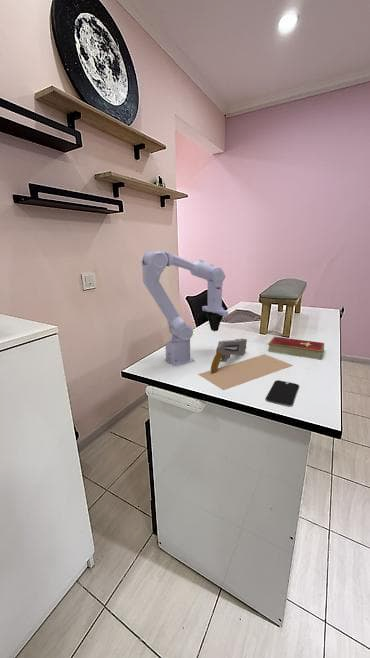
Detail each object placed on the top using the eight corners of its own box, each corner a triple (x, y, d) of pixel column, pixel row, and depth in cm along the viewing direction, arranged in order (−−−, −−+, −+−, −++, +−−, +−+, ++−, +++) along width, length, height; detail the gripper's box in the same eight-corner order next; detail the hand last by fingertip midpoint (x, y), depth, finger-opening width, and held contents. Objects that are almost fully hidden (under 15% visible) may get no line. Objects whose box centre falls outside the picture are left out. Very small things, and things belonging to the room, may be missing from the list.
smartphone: (300, 384, 89) (292, 406, 77) (299, 386, 90) (291, 408, 77) (275, 379, 93) (264, 399, 81) (275, 381, 93) (264, 402, 81)
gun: (242, 374, 117) (249, 339, 118) (214, 373, 97) (222, 331, 98) (235, 372, 119) (242, 338, 120) (206, 371, 99) (214, 330, 100)
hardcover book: (273, 344, 130) (274, 335, 129) (323, 351, 120) (324, 342, 118) (267, 352, 120) (268, 343, 119) (321, 360, 110) (322, 350, 108)
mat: (223, 391, 87) (223, 389, 87) (198, 375, 99) (198, 374, 99) (292, 366, 105) (293, 365, 105) (264, 355, 116) (264, 354, 116)
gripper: (234, 299, 107) (233, 332, 111) (211, 294, 119) (211, 325, 123) (220, 301, 104) (220, 335, 107) (198, 296, 115) (198, 327, 119)
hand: (214, 330), depth 115 cm, fingers closed
